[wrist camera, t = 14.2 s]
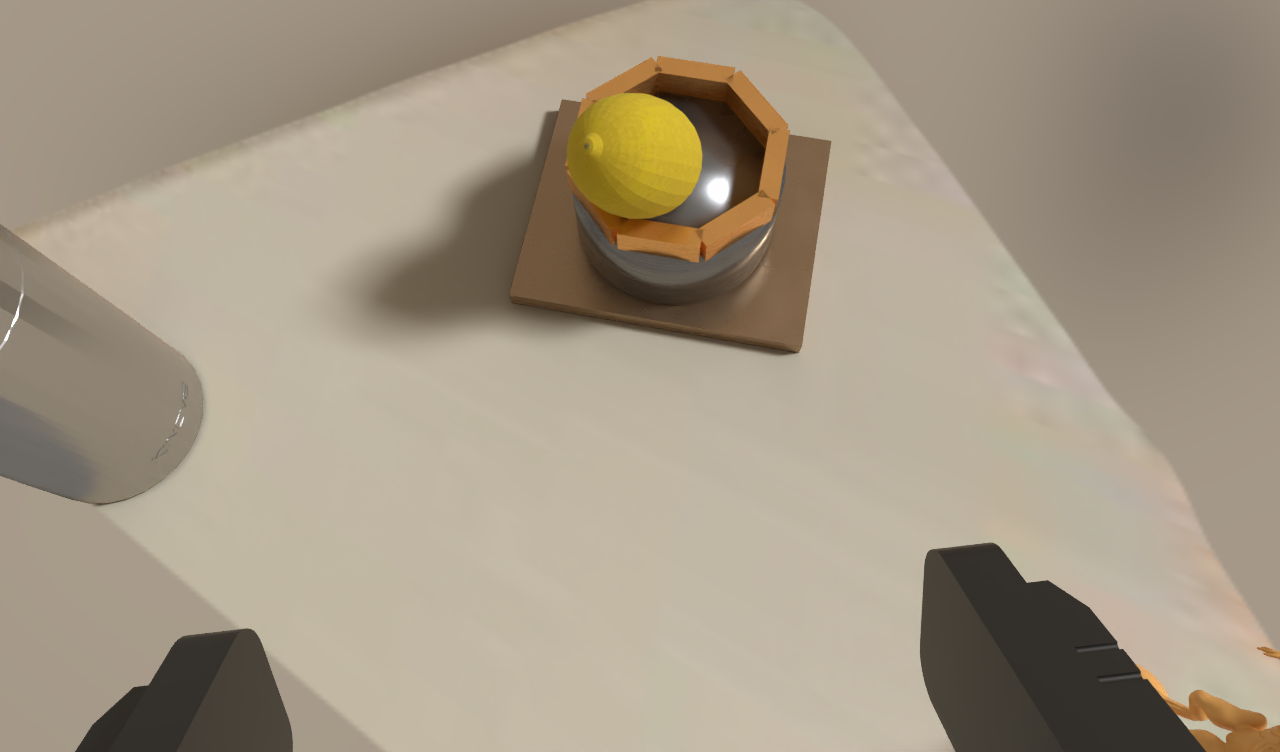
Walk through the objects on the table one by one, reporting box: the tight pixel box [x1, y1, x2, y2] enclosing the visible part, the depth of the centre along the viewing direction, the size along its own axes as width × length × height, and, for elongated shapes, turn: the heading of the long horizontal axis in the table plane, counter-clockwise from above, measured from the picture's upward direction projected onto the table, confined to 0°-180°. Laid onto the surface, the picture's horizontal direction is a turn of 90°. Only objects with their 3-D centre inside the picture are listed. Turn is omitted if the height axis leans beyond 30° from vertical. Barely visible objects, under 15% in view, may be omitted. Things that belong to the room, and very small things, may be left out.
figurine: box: [1136, 647, 1280, 752], centre depth 35 cm, size 8×6×12 cm
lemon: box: [567, 93, 702, 219], centre depth 40 cm, size 6×6×8 cm
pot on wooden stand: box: [509, 56, 831, 353], centre depth 46 cm, size 16×13×8 cm
